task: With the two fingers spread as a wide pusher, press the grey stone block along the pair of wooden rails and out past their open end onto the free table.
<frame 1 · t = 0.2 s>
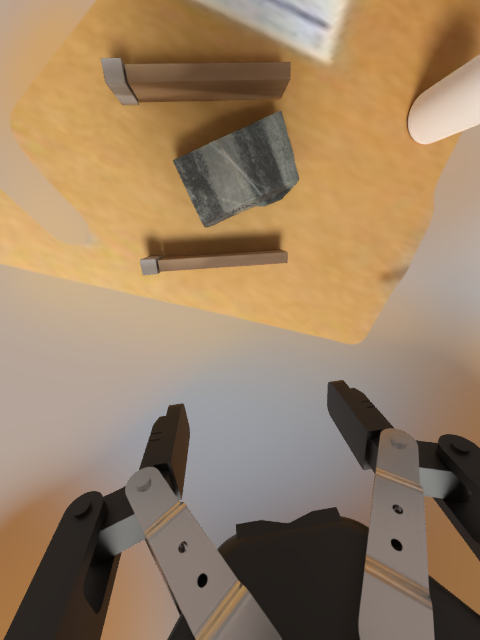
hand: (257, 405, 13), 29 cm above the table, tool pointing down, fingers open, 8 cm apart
can: (426, 118, 34), on the table
pair of wooden rails: (217, 184, 35), on the table
stone block: (237, 182, 35), on the table
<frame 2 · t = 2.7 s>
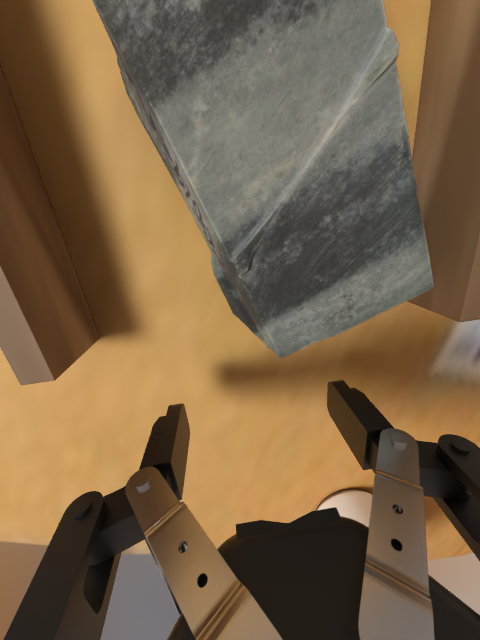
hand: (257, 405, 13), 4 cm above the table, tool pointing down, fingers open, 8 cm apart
can: (344, 507, 24), on the table
pair of wooden rails: (232, 149, 12), on the table
stone block: (262, 195, 14), on the table
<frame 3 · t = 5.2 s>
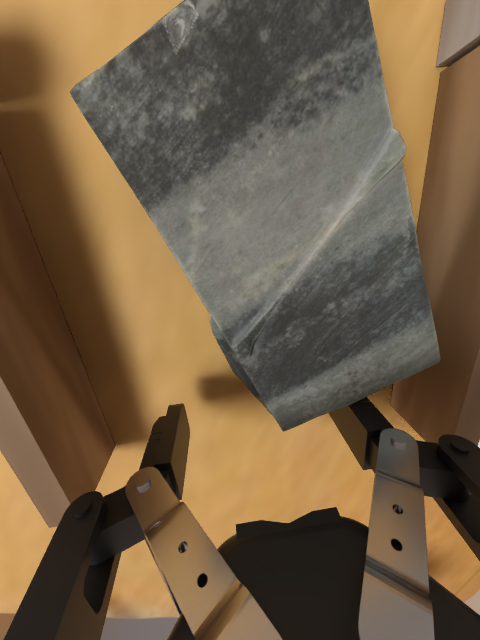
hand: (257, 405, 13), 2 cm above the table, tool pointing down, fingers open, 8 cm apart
pair of wooden rails: (243, 298, 13), on the table
stone block: (261, 254, 13), on the table, touching gripper
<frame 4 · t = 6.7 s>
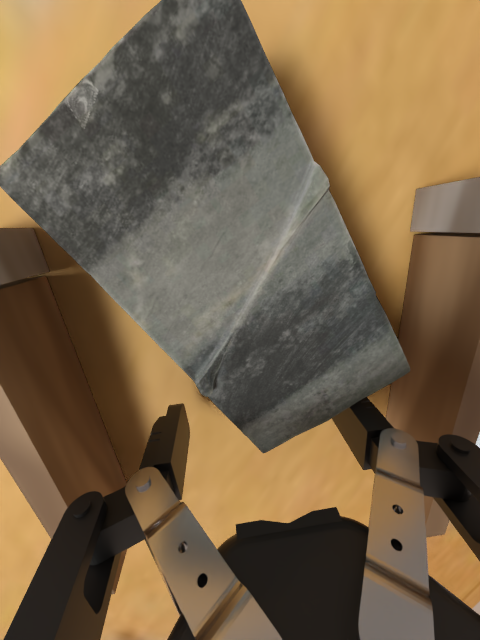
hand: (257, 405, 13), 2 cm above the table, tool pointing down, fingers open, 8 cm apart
pair of wooden rails: (251, 397, 16), on the table
stone block: (228, 278, 13), on the table
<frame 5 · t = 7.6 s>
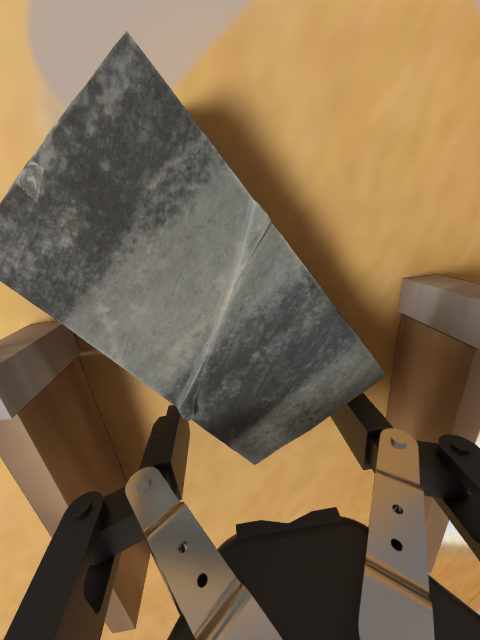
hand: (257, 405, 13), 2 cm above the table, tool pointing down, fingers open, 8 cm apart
pair of wooden rails: (256, 448, 17), on the table
stone block: (206, 299, 14), on the table, touching gripper
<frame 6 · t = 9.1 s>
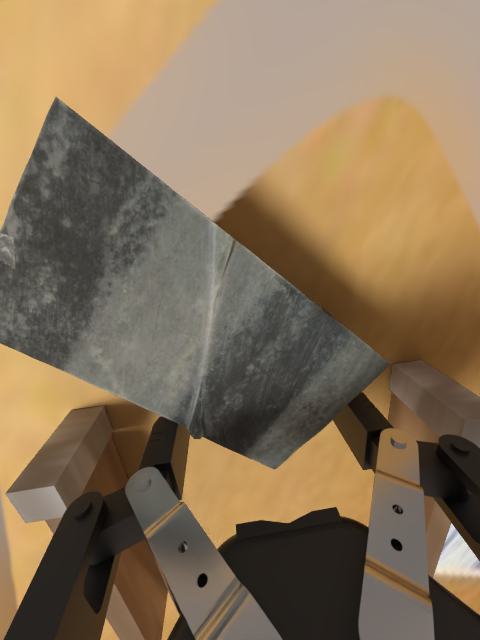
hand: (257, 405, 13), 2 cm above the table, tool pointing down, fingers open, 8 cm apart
pair of wooden rails: (264, 500, 20), on the table
stone block: (202, 314, 14), on the table
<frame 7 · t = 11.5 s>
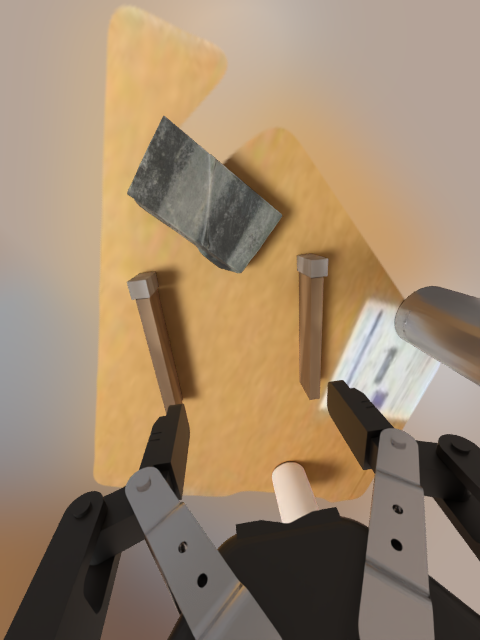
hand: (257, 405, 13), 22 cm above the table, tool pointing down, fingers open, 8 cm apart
can: (287, 471, 48), on the table
pair of wooden rails: (236, 340, 36), on the table
stone block: (205, 212, 30), on the table
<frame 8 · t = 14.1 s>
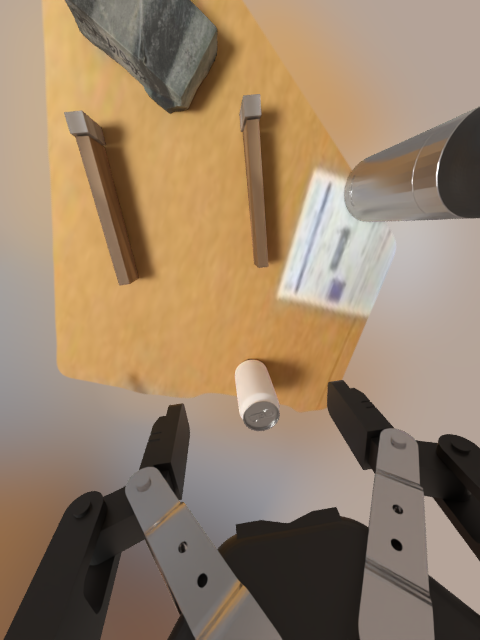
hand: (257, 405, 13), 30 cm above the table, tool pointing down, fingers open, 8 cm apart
can: (250, 372, 48), on the table
pair of wooden rails: (186, 211, 37), on the table
stone block: (150, 49, 31), on the table
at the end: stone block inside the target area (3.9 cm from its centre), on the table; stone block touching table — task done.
